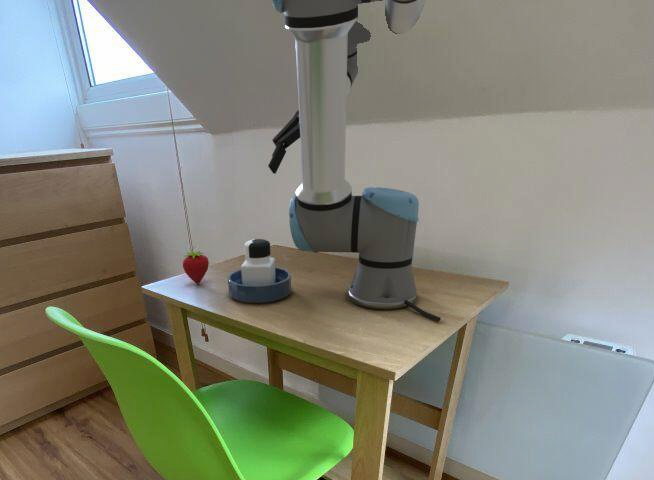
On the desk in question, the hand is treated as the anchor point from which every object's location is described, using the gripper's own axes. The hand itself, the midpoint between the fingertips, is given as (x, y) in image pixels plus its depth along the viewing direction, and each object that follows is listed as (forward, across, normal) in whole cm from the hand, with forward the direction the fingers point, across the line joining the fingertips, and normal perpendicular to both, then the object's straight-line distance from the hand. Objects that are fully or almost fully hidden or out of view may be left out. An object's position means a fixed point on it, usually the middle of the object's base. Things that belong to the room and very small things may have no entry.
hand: (293, 171), depth 105 cm
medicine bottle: (+29, -1, -7) cm, 30 cm away
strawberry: (+32, +17, -4) cm, 37 cm away
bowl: (+30, -2, -7) cm, 30 cm away
